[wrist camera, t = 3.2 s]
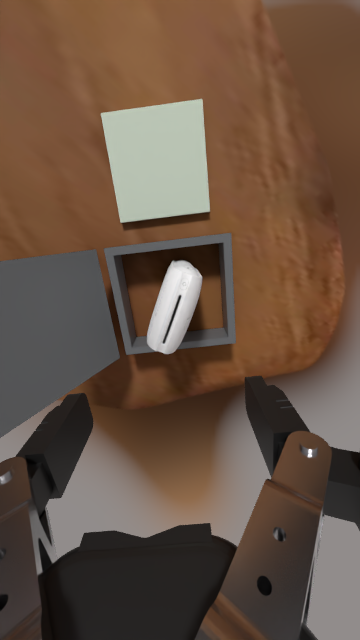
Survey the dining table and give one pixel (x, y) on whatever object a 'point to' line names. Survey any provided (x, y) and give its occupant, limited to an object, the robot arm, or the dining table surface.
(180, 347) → the case
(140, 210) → the mat
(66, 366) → the case lid
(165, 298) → the white slotted device
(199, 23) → the dining table surface
